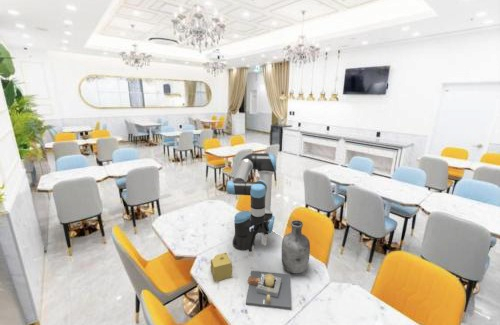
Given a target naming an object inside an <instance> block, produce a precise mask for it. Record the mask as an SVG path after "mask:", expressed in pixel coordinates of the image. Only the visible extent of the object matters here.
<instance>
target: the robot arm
mask: <svg viewBox="0 0 500 325" xmlns="http://www.w3.org/2000/svg"><path fill="white" fill-rule="evenodd" d="M276 162H277V161H276V156H275V154H274V153H267V152H266V153H265V152H263V153H261V152H260V153H258V152H254V153H253V152H251V153H249V154H247V155H245V156H244V157H242V158H241V160H240V161H239V164H238V165H239V166H238V169H237V171H236V174H235V176H234V178H233V180H228V181H227V182H226V187H225V188H226V189H225V190H226V193H227V194H228V195H233V196H234V195H235V196H236V195H237V196H250V210H241V211H238V212H237V213H236V214H235V215H234V220H233V221H234V235H233V238H232V246H233V248H234V249H235V250H238V251H248V256H250V257H252V258H254V257H255V255H254V254H255V253H254V252H255V240H256V237H257V234H258V233H259V234H261V245H264V246H267V238H268V237H267V235H269V234H271V233H273V229H274V224H275V218H276V217H275V216H274V215H273V212H272V211H271V208H272V207H271V204H272V184H273V183H272V181H273V175H274V174H275V171H277V163H276ZM252 170H255V171H256V170H257V173H258V175H259V178H258V180H256V181H248V179H249V175H250V173H251V171H252Z"/></svg>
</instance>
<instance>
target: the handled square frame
mask: <svg viewBox="0 0 500 325" xmlns="http://www.w3.org/2000/svg"><path fill="white" fill-rule="evenodd" d="M266 275H267V274H263V273H262V275H261V278H260V279H259V278H255V277H251V275H249V277H248V279H247V284H248V285H249V284H251V285H255V286H257V293H261V294H265V295H268V294H269V295H270V296H273V297H277V298H278V294H279V290H280V286H281V282H282V278H281V277H276V276H274V284H275V287H274V288H270V287H265V286H264V284H265V276H266Z"/></svg>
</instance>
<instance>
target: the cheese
mask: <svg viewBox="0 0 500 325" xmlns="http://www.w3.org/2000/svg"><path fill="white" fill-rule="evenodd" d="M210 271H211V273H212V277H213V281H214V282H219V281H223V280H226V279H230V278H232V276H233V264H232V261H231V259H230V257H229V255H228V253H227V252H223V253H219V254H215V256H214V258H212V259H210Z"/></svg>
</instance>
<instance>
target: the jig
mask: <svg viewBox="0 0 500 325" xmlns="http://www.w3.org/2000/svg"><path fill="white" fill-rule="evenodd" d="M262 273H263V274H267V275H266V276H265V284H264V286H265V287H270V288H274V287H275V284H274V276H276V277H281V278H282V282H281V286H280V290H279V294H278V298H277V297H273V296H270V295H269V294H268V295H265V294H261V293H257V286H255V285H251V284H248V289H247V292H246V299H245V306H251V307H252V306H253V307H261V308H269V309H280V310H287V311H288V310H289V311H292V293H291V292H292V290H291V288H292V287H291V274H290V273H282V272H281V273H280V272H271V271H262V270H261V271H259V270H251V271H250V276H251V277H255V278H259V279H260V278H261V275H262Z"/></svg>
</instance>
